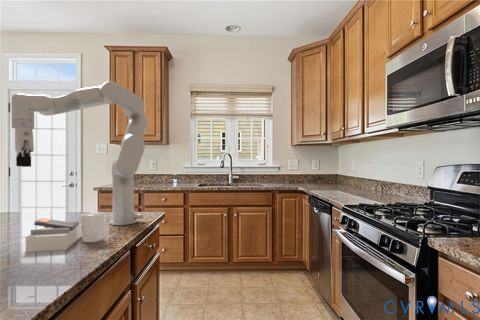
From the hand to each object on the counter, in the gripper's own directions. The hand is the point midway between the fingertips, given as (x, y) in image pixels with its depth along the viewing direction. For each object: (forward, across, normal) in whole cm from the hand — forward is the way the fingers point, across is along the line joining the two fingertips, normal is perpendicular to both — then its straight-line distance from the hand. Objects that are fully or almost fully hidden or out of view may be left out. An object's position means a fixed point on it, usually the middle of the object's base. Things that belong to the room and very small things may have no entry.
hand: (23, 166), depth 122 cm
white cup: (+28, -31, -16) cm, 45 cm away
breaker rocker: (+21, -26, -5) cm, 34 cm away
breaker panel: (+28, -26, -5) cm, 39 cm away
